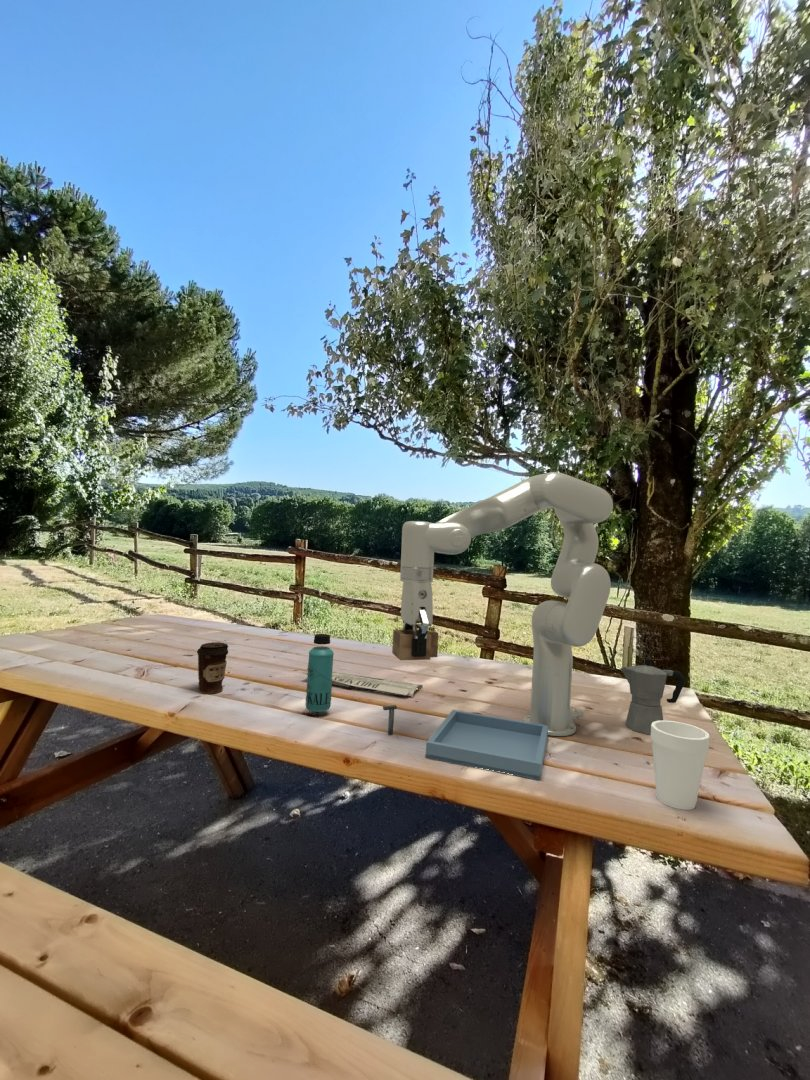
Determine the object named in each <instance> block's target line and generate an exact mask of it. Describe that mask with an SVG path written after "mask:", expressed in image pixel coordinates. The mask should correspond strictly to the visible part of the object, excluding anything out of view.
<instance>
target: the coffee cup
mask: <svg viewBox="0 0 810 1080" xmlns="http://www.w3.org/2000/svg"><path fill="white" fill-rule="evenodd" d="M228 648H229V645H228V644H227V643H224V642H219V641H218V642H214V641H213V642H206V643H203V644H201V645H200V647H199V648H198V649H197V651H196V653H197V673H198V676H197V677H198V692H199V693H200V694H216V693H217V694H218V693H220V692H222V691H223V690H224V688H223V687H224V685H223V681H224V679H225V673H226V668H227V655H229V650H228Z"/></svg>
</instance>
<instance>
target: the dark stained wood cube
mask: <svg viewBox="0 0 810 1080" xmlns="http://www.w3.org/2000/svg"><path fill="white" fill-rule="evenodd" d="M418 630H419V629H417V632H418ZM412 638H414V633H413V630H402V629H393V631H392V646H391V649H392V651H391V653H392V655H393V656H395V657H396V658H397V659H399V660H400V661H428V660H429V661H430V660H431V658H438V653H439V651H438V650H439V648H438V646H439V632H437V631H436V630H429V631H428V632H427V642H426V656H425V657H413V656H412Z"/></svg>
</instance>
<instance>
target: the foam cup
mask: <svg viewBox="0 0 810 1080" xmlns="http://www.w3.org/2000/svg"><path fill="white" fill-rule="evenodd" d="M650 739H651V746H652V747H651V748H652V758H653V759H652V760H653V770H654V783H655V794H656V798H657V799H658V801H659V802H661V803H662V804H664V805H665V806H668V807H672V808H674V809H678V810H683V811H691V810H694V809H695V808H696V805H697V801H698V797H699V796H698V795H699V791H700V787H701V782H702V776H703V774H704V773H703V772H704V767H705V762H706V757H707V753H708V752H709V747H710V734H709V733H708V732H707V731H706V730H705V729H703V728H701V727H697V726H695V725H693V724H689V723H685V722H681V721H673V720H663V721H655V722H652V724H651V735H650Z"/></svg>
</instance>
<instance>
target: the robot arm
mask: <svg viewBox="0 0 810 1080" xmlns="http://www.w3.org/2000/svg"><path fill="white" fill-rule="evenodd" d="M547 509H554V514H555V515H556V517H557V519H558V522H560V525H561V528H562V531H563V541H562V542H563V543H562V547H561V550H560V553H559V555H558V558H557V561H556V563H555V565H554V570H553V572H552V574H551V578H550V579H551V580H550V587H551V590H552V591H553V592H554V593H555V594H557V596H559V597H561V598H562V597H563V598H565V599H568V601H567V602H563V601H559V600H553V599H552V600H551V599H550V600H545V601H543V602H540V603H539V604H538V605H537V606H536V607H535V608H534V610H533V612H532V615H531V629H532V630H531V631H532V639H533V659H532V673H531V675H532V677H531V692H530V693H531V694H530V708H529V711H530V712H529V714H528V715H526V716H525V717H524V718H523V721H524V722H530V723H536V724H543V725H548V736H552V737H566V736H567V737H568V736H571V735H574V734H575V732H576V730H577V729H576V728H577V727H576V725H575V723H574V722H573V721H574V720H575V719H582V718H584V717H585V713H584V711H583V710H582V709H578V710H573V709H572V708H571V697H572V680H573V677H572V676H573V665H574V664H573V662H574V658H573V657H574V655H573V650H572V647H574V648H575V647H576V648H580V647H584V646H586V645H587V644H589V643H590V642H591V641H592V639H593V638H595V635H596V633H597V632H598V628H599V625H600V623H601V620H602V616H603V614H604V611H605V609H606V605H607V602H608V600H609V597H610V593H611V588H612V586H611V584H612V583H611V577H610V574H609V572H608V571H607V570H606V569H605V568H604V567H603V566H602V565H601V564H598V563H595V561H596V558H597V554H598V550H599V542H600V541H599V536H598V535H599V534H598V532H597V529H596V527H595V525H594V524H598V523H602V522H604V521H606V520H607V519H608V518H609V517H610V515H611V514H612V512H613V509H614V502H613V498H612V497H611V495H610V493H608V492H607V490H605V489H604V488H602V487H600V486H597V485H595V484H592V483H590V482H588V481H587V482H586V481H584V480H582V479H580V478H576V477H574V476H571V475H569V474H565V473H563V472H557V471H551V472H546V473H542V474H537V475H533V476H530V477H527V478H526V479H524V480H522V481H520V482H518V483H516V484H513V485H511V486H509V487H508V488H506V489H504V490H502V491H499V492H497V493H495V494H493V495H492V496H490V497H489V496H488V497H487V498H485V499H483V500H481V501H478V502H477V503H474V504H472V505H470V506H468V507H465V508H462V509H461V510H458V511H457V512H454V513H452V514H450V515H448V516H446V517H444V518H442V519H440V520H437V521H436V522H429V521H423V520H419V521H418V520H409V521H405V522H404V523H403V525H402V529H401V530H402V531H401V555H400V556H401V557H400V574H399V577H400V578H399V579H400V580H399V581H400V582H403V583H402V591H401V601H400V618H401V620H402V629H401V630H413V633H414V638H412V656H413V657H425V656H426V642H427V632H428V629H429V627H431V626H432V625H433V622H434V621H433V620H434V619H433V617H434V616H433V615H434V614H433V611H434V609H433V600H434V599H433V587H432V586H433V585H432V583H434V564H435V563H434V562H435V553H437V554H444V555H458V554H459V555H460V554H462V553H463V552H465V551H466V550H468V549H469V546H470V545H471V542H472V538H474V537H477V536H480V535H484V534H488V533H495V532H499V531H502V530H505V529H508V528H510V527H512V526H513V525H515V524H518V523H519V522H522V521H523V520H525V519H527V518H529V517H530V516H533V515H535V514H536V513H538V512H540V511H543V510H547ZM417 630H418V632H417Z"/></svg>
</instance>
